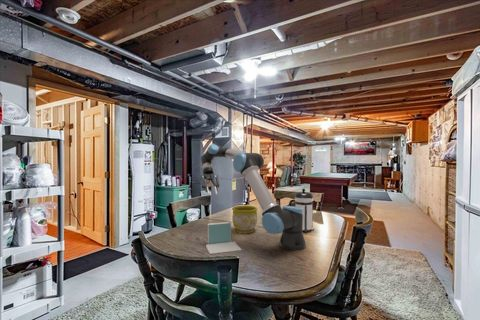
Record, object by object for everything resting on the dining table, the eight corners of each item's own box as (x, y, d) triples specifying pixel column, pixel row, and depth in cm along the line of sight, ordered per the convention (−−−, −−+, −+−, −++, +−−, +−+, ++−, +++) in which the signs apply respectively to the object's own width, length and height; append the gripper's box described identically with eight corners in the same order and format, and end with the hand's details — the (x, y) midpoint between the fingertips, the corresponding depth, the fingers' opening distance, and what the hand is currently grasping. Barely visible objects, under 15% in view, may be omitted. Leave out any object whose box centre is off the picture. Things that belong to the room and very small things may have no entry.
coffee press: (311, 227, 185) (312, 187, 184) (316, 233, 169) (316, 190, 168) (288, 226, 186) (288, 186, 186) (290, 233, 170) (290, 189, 170)
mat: (205, 245, 147) (205, 244, 147) (234, 242, 153) (234, 241, 153) (210, 254, 134) (210, 253, 134) (241, 250, 139) (241, 249, 139)
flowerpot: (247, 236, 163) (247, 211, 163) (227, 231, 174) (226, 208, 174) (262, 229, 178) (262, 207, 177) (242, 225, 188) (242, 204, 188)
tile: (207, 243, 151) (207, 223, 151) (229, 240, 155) (229, 221, 155) (208, 244, 148) (208, 224, 148) (231, 242, 152) (230, 222, 152)
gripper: (218, 173, 191) (224, 197, 176) (195, 173, 186) (198, 199, 170) (220, 166, 186) (226, 191, 171) (196, 166, 181) (200, 192, 165)
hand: (212, 195), depth 171 cm, fingers open, 5 cm apart
